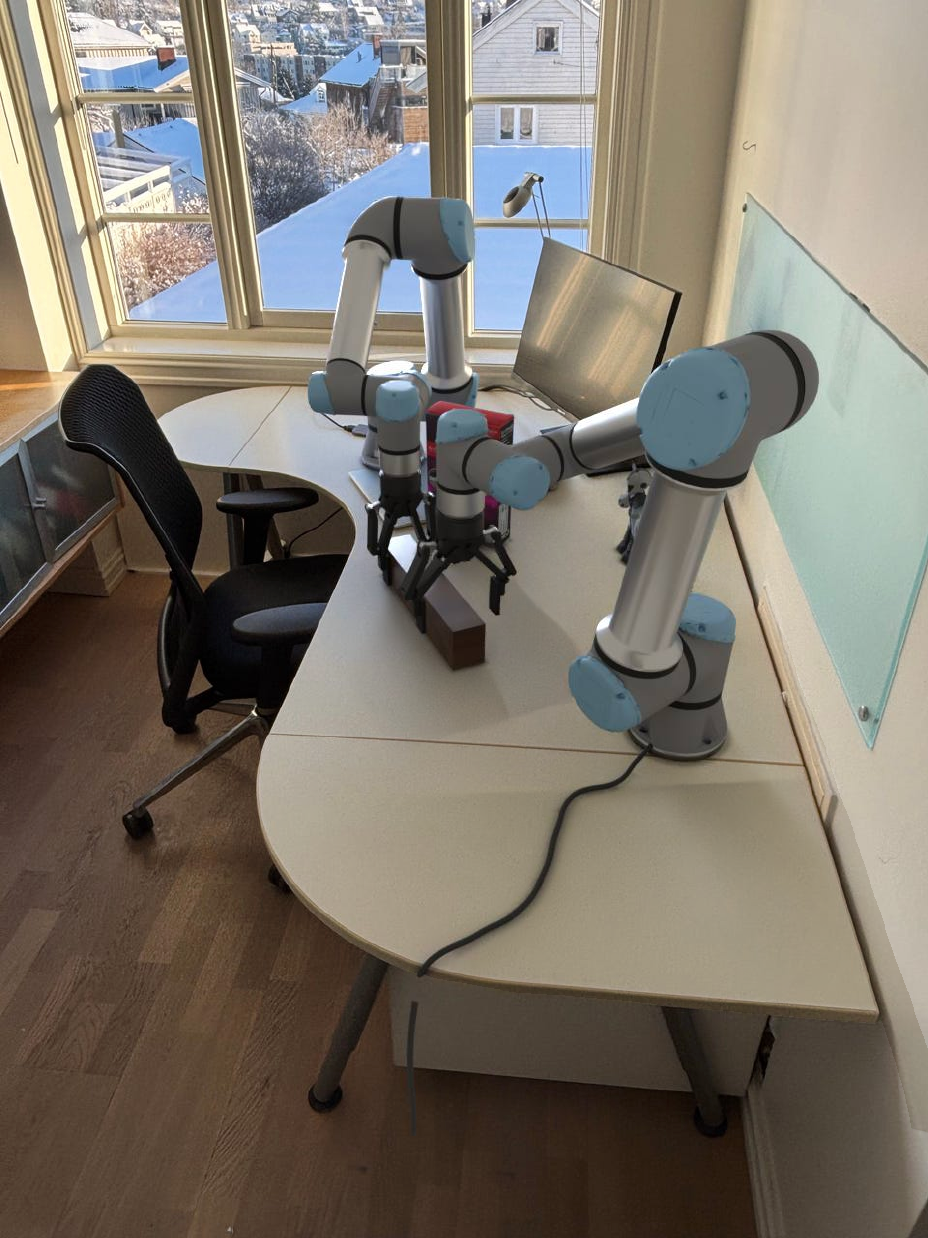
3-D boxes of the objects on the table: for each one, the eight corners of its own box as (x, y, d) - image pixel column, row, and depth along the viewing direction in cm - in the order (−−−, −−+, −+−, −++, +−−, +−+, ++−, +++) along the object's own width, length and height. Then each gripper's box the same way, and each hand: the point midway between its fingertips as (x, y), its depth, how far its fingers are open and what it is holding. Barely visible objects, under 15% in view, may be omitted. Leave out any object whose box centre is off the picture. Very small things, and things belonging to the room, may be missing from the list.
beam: (484, 662, 158) (485, 623, 153) (452, 671, 155) (453, 632, 151) (410, 569, 183) (409, 533, 179) (382, 575, 181) (380, 539, 177)
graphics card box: (425, 532, 195) (422, 409, 180) (440, 519, 200) (440, 398, 185) (497, 552, 189) (501, 426, 173) (511, 537, 194) (517, 414, 179)
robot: (652, 579, 180) (665, 486, 169) (627, 579, 180) (639, 486, 169) (631, 531, 196) (642, 443, 185) (609, 531, 196) (618, 444, 185)
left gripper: (440, 452, 172) (441, 560, 185) (343, 470, 165) (350, 580, 178) (456, 468, 166) (456, 577, 179) (356, 487, 160) (363, 599, 173)
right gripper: (520, 485, 151) (513, 593, 163) (376, 512, 142) (381, 625, 154) (542, 504, 145) (533, 615, 157) (394, 534, 137) (397, 650, 149)
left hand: (403, 578), depth 179 cm, fingers closed on beam, 6 cm apart
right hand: (458, 620), depth 156 cm, fingers open, 13 cm apart
